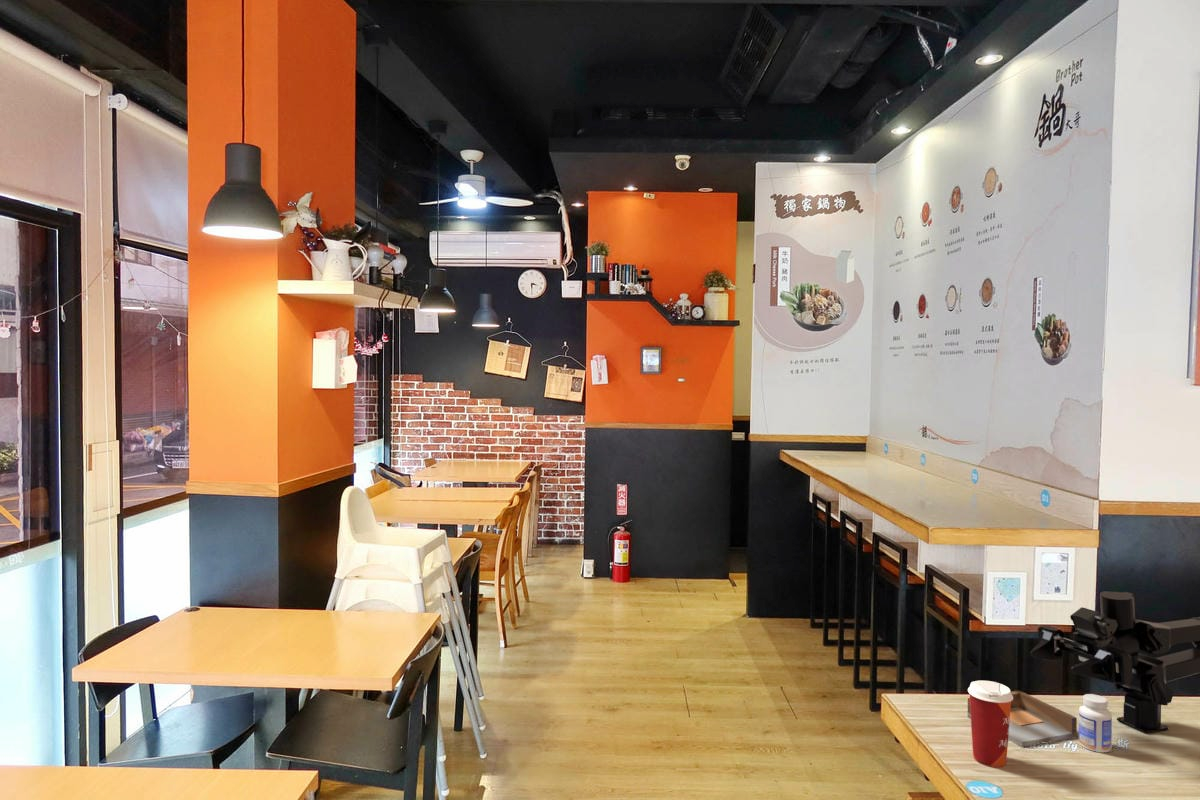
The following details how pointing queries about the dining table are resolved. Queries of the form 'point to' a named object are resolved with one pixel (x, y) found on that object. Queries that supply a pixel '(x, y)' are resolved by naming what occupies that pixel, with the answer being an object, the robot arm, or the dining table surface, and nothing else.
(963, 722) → the dining table surface
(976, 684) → the paper cup
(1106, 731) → the pill bottle
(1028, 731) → the corner arena
